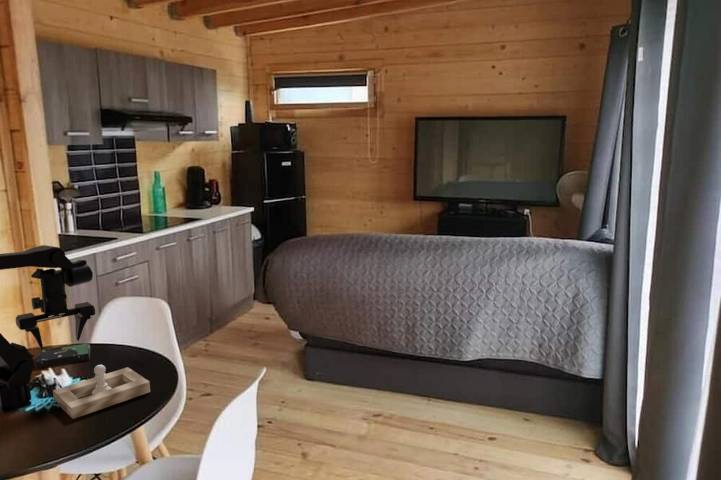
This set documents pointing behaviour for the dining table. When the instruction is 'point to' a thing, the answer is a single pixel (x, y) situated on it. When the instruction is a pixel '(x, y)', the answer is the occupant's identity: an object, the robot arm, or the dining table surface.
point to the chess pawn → (100, 379)
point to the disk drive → (63, 355)
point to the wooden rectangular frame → (92, 403)
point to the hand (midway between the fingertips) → (60, 344)
